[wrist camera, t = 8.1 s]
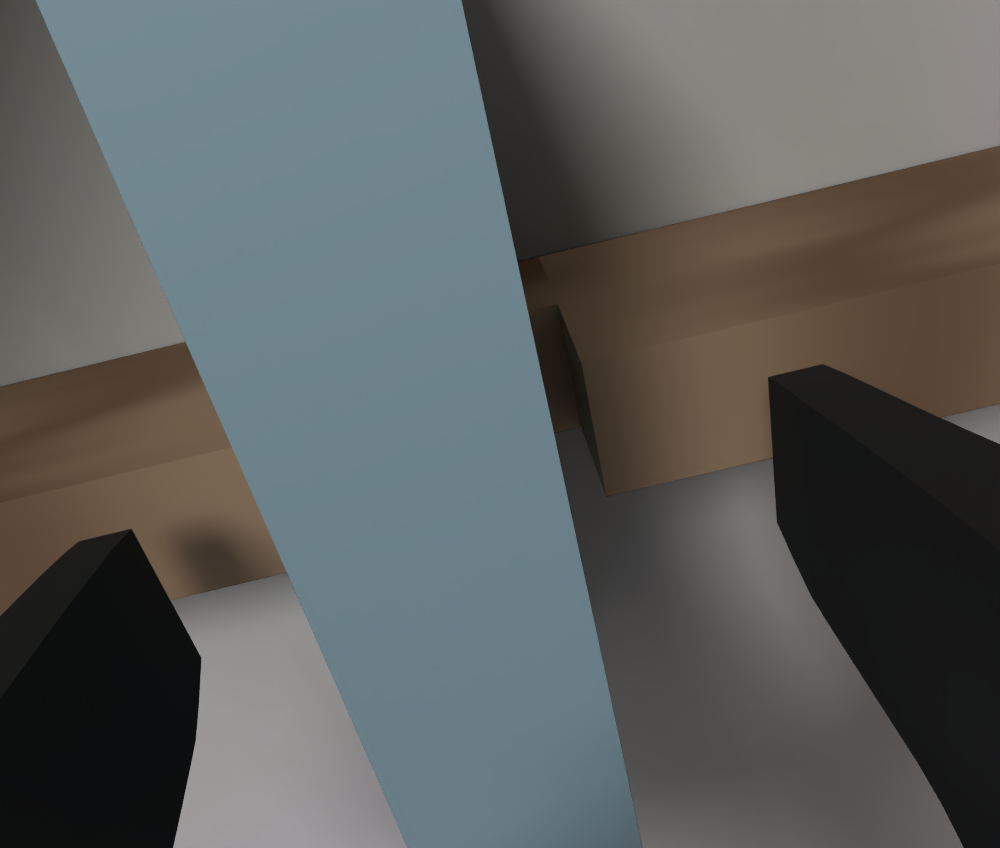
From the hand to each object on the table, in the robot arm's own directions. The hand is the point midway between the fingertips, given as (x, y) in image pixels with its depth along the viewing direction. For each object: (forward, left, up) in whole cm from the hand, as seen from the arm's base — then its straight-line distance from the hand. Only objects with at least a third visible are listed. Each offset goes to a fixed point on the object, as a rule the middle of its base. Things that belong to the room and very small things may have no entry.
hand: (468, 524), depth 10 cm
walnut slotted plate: (0, 0, -5) cm, 5 cm away
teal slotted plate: (0, 0, -5) cm, 5 cm away
